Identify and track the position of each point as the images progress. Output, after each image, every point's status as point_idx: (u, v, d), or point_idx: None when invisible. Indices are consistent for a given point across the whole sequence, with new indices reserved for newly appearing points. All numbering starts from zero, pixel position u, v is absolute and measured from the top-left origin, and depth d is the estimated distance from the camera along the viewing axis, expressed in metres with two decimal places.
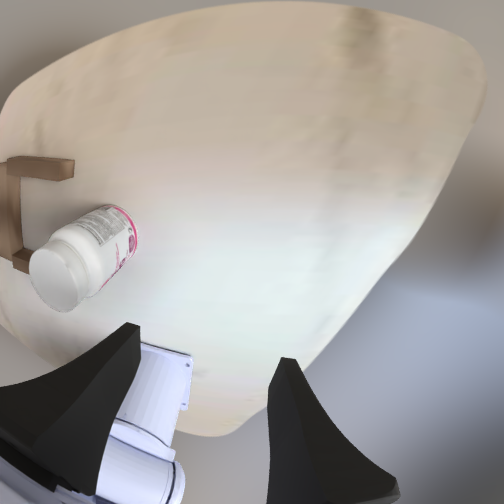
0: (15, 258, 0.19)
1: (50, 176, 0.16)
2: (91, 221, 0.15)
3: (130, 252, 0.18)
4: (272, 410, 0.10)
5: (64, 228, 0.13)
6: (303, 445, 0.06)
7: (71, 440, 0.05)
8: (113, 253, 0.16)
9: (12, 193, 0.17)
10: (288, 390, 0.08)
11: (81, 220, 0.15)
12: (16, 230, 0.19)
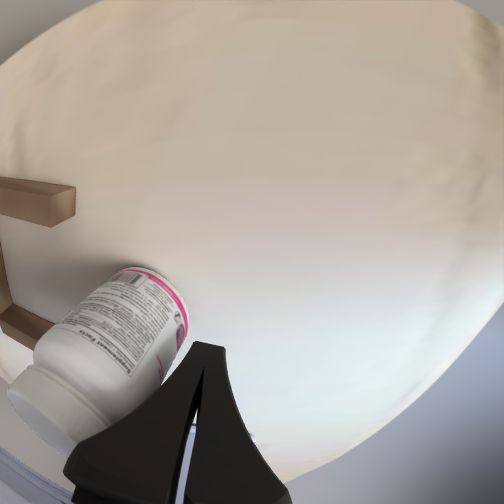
0: (3, 322, 0.12)
1: (36, 217, 0.09)
2: (109, 319, 0.08)
3: (178, 350, 0.11)
4: (199, 398, 0.09)
5: (57, 339, 0.06)
6: None
7: (175, 478, 0.05)
8: (154, 376, 0.08)
9: None
10: (203, 377, 0.08)
11: (88, 316, 0.08)
12: None
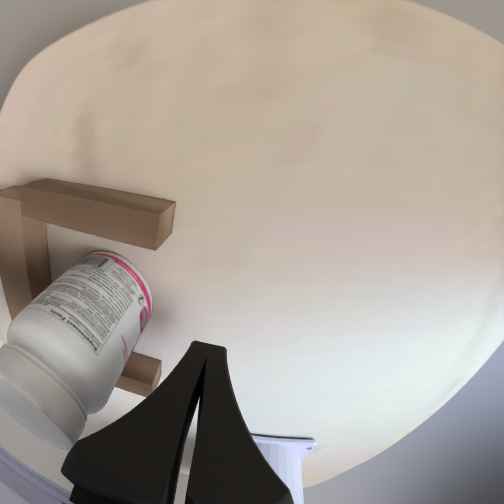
0: None
1: (132, 237, 0.09)
2: (77, 299, 0.08)
3: (141, 332, 0.12)
4: (200, 398, 0.09)
5: (30, 318, 0.06)
6: None
7: (173, 477, 0.05)
8: (119, 355, 0.09)
9: (34, 247, 0.11)
10: (204, 377, 0.08)
11: (59, 296, 0.08)
12: None
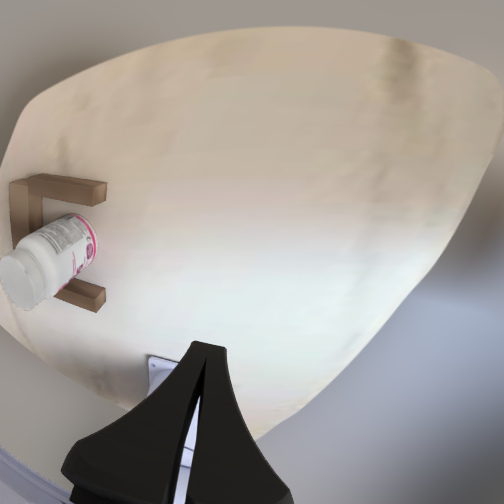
0: None
1: (81, 200, 0.17)
2: (52, 231, 0.15)
3: (88, 259, 0.19)
4: (200, 398, 0.09)
5: (28, 237, 0.14)
6: None
7: (173, 477, 0.05)
8: (69, 261, 0.16)
9: (34, 213, 0.18)
10: (204, 377, 0.08)
11: (44, 229, 0.15)
12: None
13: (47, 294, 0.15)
